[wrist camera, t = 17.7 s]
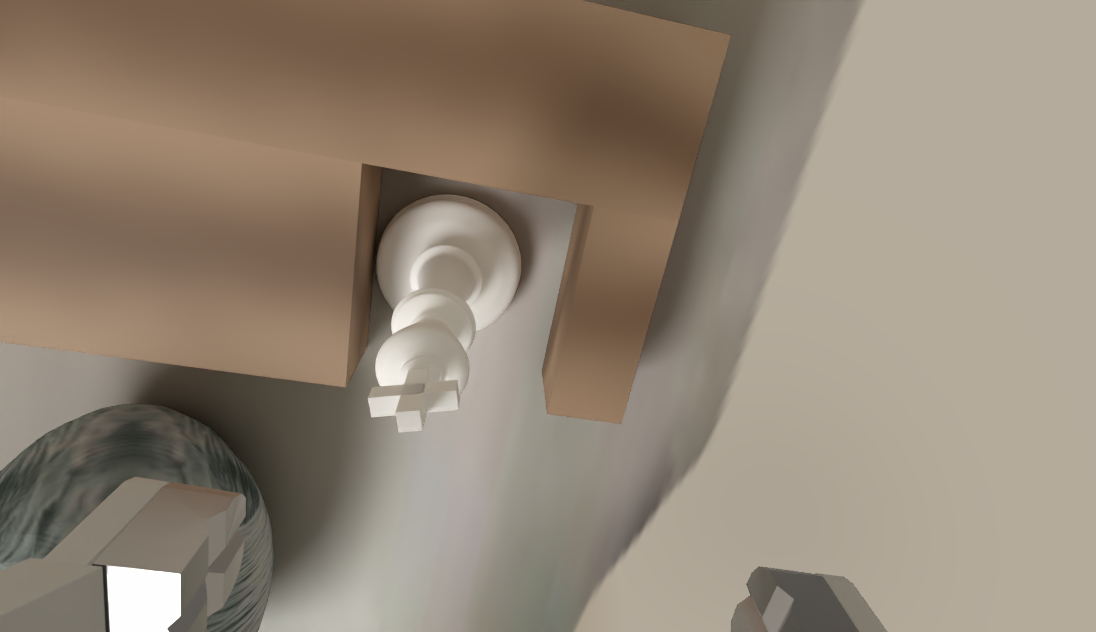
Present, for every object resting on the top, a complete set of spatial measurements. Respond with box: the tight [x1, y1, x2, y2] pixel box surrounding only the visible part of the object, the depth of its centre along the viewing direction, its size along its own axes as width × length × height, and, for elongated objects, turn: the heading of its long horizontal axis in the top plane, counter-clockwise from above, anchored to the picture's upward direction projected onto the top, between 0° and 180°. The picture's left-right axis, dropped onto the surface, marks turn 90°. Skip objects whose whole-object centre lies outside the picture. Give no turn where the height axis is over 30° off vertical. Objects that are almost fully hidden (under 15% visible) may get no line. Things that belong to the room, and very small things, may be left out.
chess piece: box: [368, 194, 521, 433], centre depth 15 cm, size 5×5×10 cm
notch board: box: [0, 0, 731, 424], centre depth 17 cm, size 12×20×3 cm, turn 79°
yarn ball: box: [0, 404, 273, 632], centre depth 19 cm, size 14×10×10 cm
